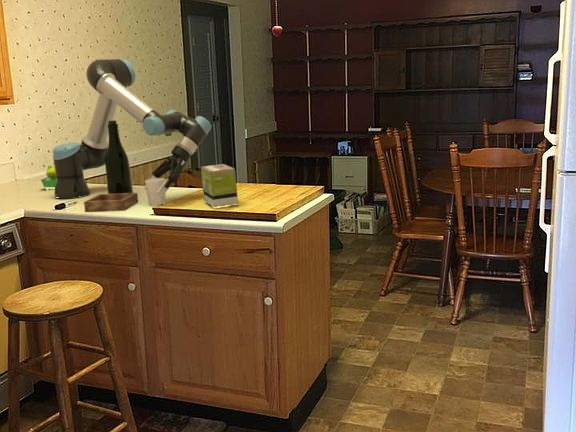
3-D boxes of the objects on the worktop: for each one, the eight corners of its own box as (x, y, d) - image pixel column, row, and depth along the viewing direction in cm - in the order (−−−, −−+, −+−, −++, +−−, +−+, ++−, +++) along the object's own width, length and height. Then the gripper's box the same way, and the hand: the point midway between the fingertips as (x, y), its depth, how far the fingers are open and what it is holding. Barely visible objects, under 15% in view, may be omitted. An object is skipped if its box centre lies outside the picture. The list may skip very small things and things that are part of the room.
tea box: (203, 203, 250) (200, 166, 246) (227, 199, 253) (224, 163, 250) (213, 209, 236) (210, 170, 233) (239, 206, 239) (236, 167, 236)
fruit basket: (43, 191, 303) (39, 168, 300) (41, 189, 310) (38, 166, 308) (67, 188, 307) (64, 165, 305) (66, 186, 315) (63, 163, 312)
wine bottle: (115, 194, 281) (106, 120, 274) (137, 193, 279) (128, 119, 272) (104, 199, 271) (94, 122, 264) (127, 198, 269) (118, 121, 262)
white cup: (148, 203, 256) (146, 178, 254) (168, 201, 257) (165, 177, 254) (146, 207, 248) (143, 182, 246) (166, 205, 249) (163, 180, 247)
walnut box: (85, 212, 246) (83, 201, 245) (101, 203, 261) (99, 194, 260) (124, 210, 244) (123, 200, 243) (138, 202, 259) (137, 192, 259)
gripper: (204, 158, 247) (172, 201, 242) (177, 153, 267) (148, 194, 263) (190, 146, 243) (158, 190, 238) (164, 142, 263) (134, 183, 259)
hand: (153, 192), depth 250 cm, fingers open, 13 cm apart
